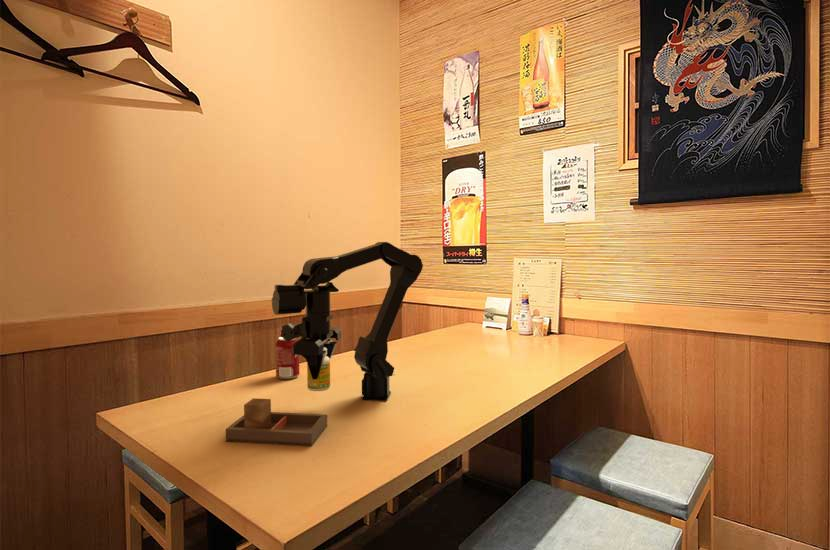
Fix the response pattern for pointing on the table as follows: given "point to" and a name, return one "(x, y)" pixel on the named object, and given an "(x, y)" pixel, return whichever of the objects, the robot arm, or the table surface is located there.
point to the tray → (281, 430)
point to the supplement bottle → (320, 376)
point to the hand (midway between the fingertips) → (318, 375)
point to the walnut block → (257, 413)
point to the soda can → (286, 360)
